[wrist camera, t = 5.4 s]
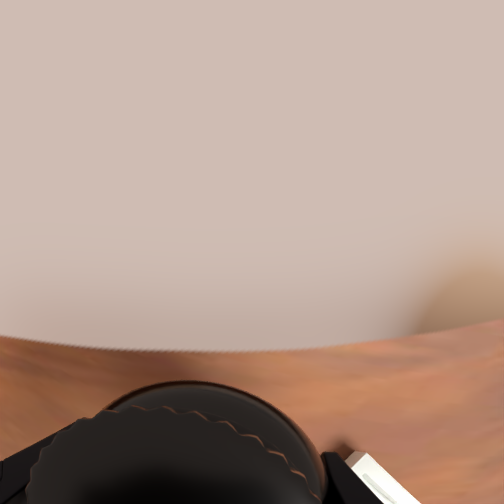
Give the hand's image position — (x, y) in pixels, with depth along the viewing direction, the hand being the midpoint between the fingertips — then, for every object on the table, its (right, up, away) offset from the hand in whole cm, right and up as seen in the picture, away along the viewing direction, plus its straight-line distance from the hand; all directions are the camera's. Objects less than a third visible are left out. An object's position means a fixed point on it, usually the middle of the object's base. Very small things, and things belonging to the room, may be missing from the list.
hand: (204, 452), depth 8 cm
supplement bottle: (0, -5, +5) cm, 7 cm away
